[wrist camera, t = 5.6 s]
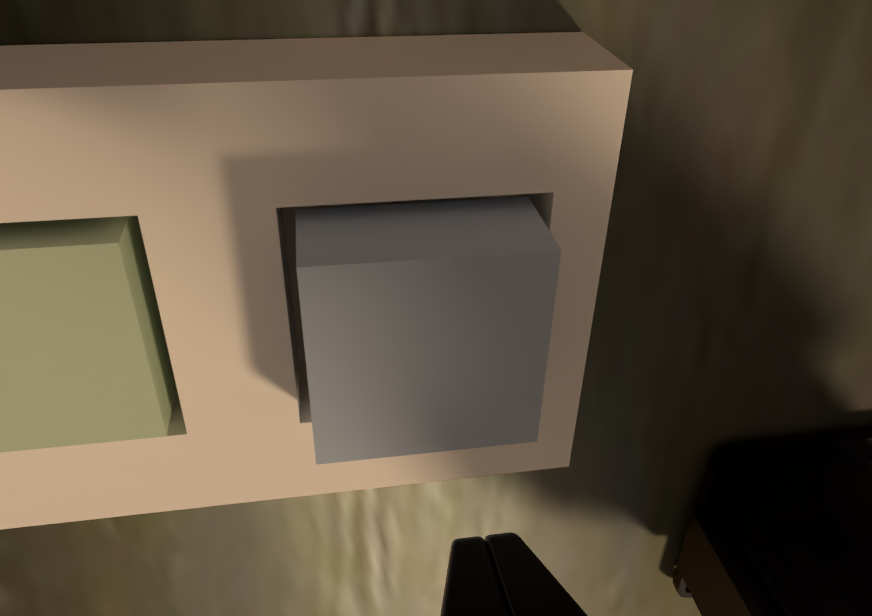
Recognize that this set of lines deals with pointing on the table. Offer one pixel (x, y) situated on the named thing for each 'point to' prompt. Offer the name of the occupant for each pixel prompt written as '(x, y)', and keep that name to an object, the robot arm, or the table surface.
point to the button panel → (294, 229)
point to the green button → (80, 336)
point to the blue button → (425, 325)
